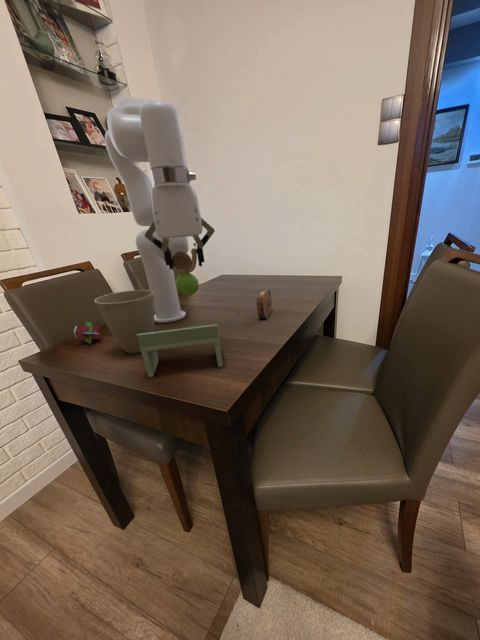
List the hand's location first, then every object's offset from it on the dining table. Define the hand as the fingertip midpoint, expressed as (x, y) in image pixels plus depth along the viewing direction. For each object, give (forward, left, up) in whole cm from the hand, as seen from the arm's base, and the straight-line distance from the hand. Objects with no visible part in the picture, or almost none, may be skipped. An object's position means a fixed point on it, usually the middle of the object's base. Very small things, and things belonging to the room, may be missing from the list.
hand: (186, 266), depth 67 cm
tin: (-28, +23, -24) cm, 43 cm away
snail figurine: (0, 0, -7) cm, 7 cm away
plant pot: (-11, -19, -24) cm, 32 cm away
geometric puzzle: (-22, -36, -24) cm, 48 cm away
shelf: (+4, -4, -24) cm, 24 cm away
